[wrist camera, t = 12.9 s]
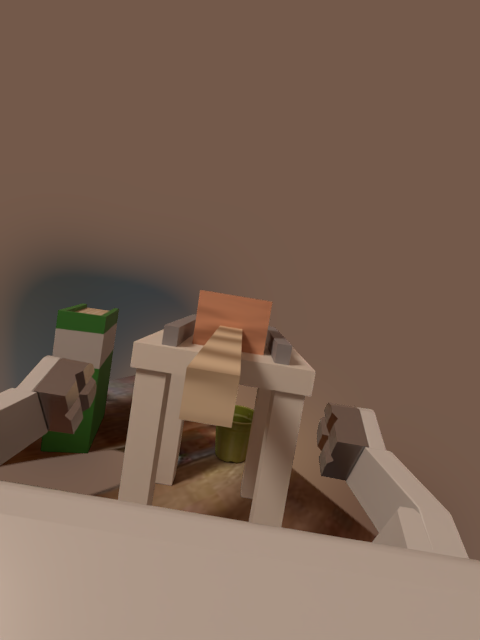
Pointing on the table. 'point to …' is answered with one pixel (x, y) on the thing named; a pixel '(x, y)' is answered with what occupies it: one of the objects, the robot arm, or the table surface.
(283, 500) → the stand
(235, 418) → the plant pot
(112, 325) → the hardback book
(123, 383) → the table surface
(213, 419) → the mallet
